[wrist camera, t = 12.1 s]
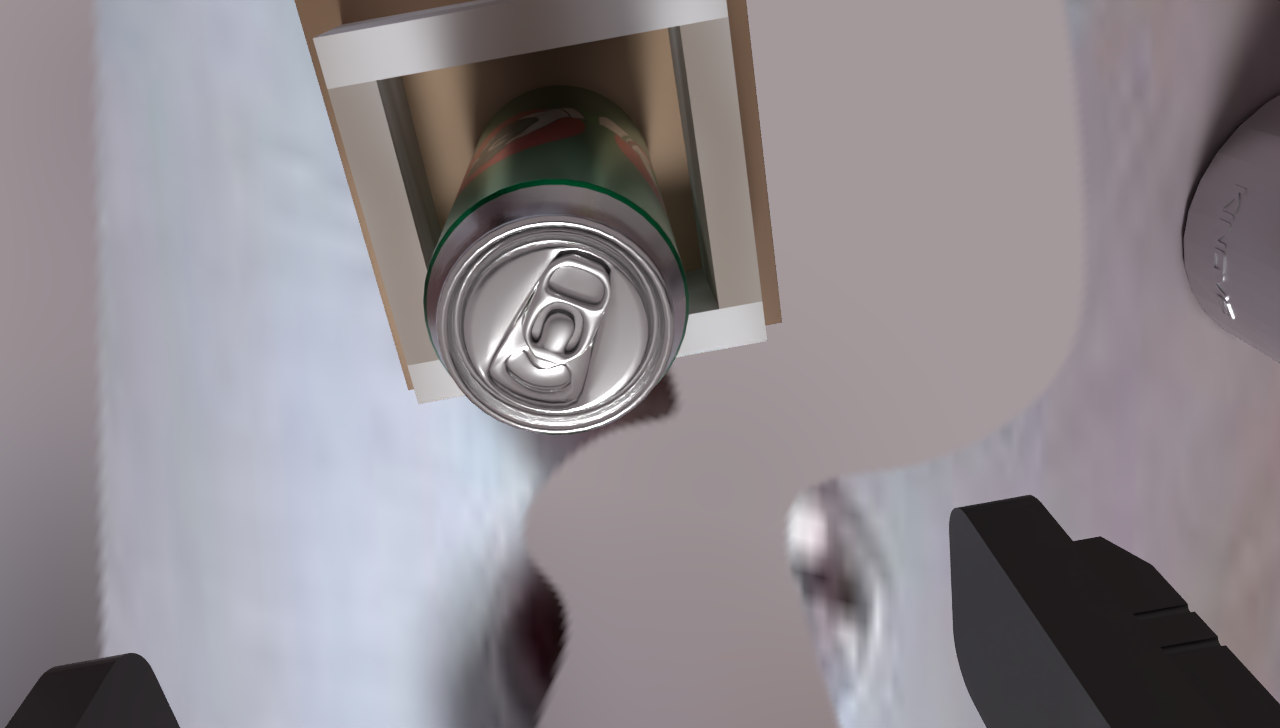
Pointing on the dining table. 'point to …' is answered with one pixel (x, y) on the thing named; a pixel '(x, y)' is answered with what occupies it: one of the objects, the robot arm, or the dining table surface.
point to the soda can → (557, 268)
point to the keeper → (523, 61)
